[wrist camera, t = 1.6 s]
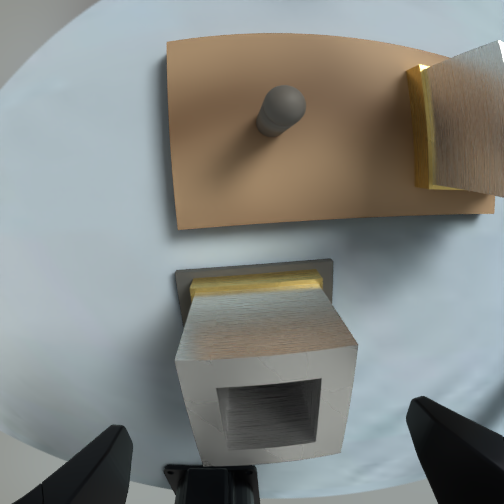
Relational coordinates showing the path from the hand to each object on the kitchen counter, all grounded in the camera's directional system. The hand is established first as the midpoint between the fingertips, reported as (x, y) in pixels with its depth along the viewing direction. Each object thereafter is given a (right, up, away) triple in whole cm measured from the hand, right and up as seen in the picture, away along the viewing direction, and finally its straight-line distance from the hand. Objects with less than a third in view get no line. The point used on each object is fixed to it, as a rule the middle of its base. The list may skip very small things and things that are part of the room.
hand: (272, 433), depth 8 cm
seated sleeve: (+9, +11, +4) cm, 15 cm away
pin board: (+4, +11, +4) cm, 12 cm away
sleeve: (0, +2, +6) cm, 7 cm away
